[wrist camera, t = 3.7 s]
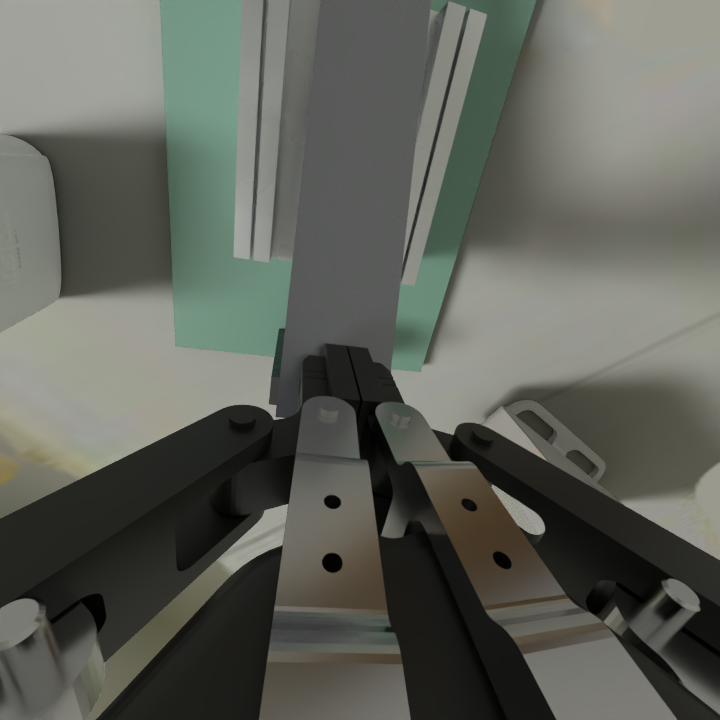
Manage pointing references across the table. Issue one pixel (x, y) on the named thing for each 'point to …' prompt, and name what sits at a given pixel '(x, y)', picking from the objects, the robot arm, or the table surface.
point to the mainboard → (218, 182)
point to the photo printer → (27, 232)
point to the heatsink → (289, 124)
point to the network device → (546, 447)
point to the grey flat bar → (354, 183)
